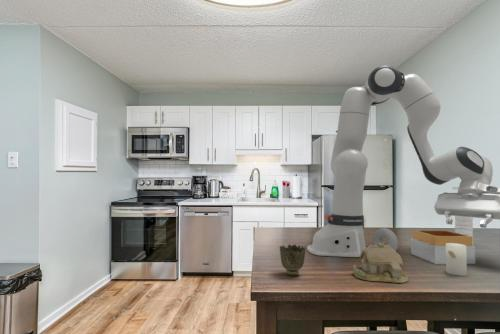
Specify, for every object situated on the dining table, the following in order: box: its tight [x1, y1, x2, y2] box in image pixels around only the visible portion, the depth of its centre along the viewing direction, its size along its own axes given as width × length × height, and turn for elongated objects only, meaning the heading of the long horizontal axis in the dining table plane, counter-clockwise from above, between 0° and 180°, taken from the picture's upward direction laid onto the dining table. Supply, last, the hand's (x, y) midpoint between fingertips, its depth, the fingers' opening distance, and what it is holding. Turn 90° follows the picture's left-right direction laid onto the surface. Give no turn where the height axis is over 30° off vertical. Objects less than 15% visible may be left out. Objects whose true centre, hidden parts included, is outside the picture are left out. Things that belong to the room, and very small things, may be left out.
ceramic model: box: [352, 242, 409, 284], centre depth 91 cm, size 14×11×10 cm
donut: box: [372, 227, 399, 252], centre depth 117 cm, size 10×4×10 cm, turn 27°
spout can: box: [445, 243, 468, 277], centre depth 94 cm, size 9×5×8 cm, turn 133°
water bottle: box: [452, 186, 474, 243], centre depth 138 cm, size 9×6×25 cm
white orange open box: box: [410, 229, 476, 265], centre depth 113 cm, size 17×14×9 cm
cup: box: [279, 243, 307, 277], centre depth 92 cm, size 8×7×8 cm
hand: (465, 224), depth 103 cm, fingers open, 8 cm apart
